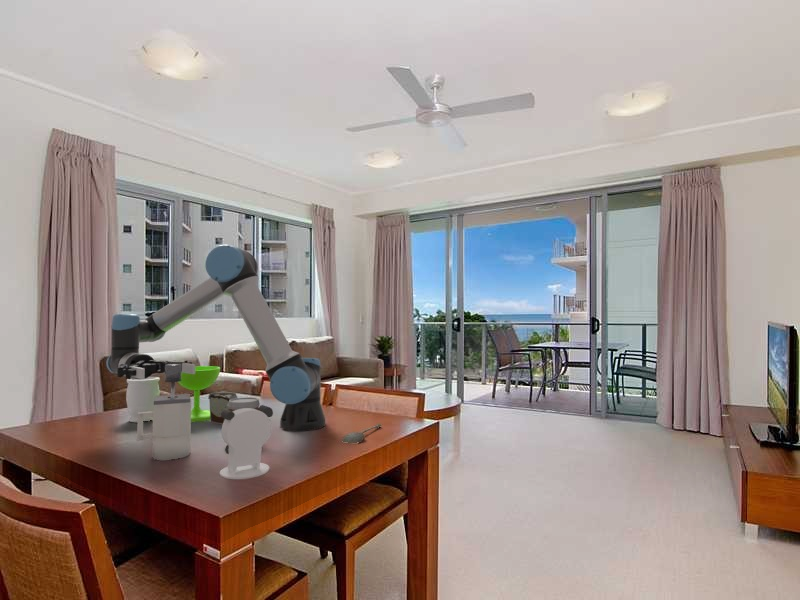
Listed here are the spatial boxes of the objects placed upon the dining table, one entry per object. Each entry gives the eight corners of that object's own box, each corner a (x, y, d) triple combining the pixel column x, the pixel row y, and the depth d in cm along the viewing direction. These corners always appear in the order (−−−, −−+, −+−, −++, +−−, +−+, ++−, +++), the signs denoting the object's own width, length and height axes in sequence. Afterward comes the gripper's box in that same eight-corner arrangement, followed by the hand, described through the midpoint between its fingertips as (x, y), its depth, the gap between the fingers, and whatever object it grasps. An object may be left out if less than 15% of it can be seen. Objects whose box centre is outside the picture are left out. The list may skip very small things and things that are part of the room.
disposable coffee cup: (266, 437, 144) (266, 398, 144) (246, 445, 135) (246, 403, 135) (240, 434, 147) (241, 396, 147) (219, 442, 138) (220, 401, 138)
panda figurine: (259, 460, 121) (260, 402, 121) (280, 471, 112) (280, 408, 113) (212, 470, 113) (213, 408, 113) (230, 482, 104) (231, 415, 105)
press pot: (189, 448, 131) (190, 393, 132) (190, 457, 123) (191, 398, 123) (138, 454, 126) (139, 396, 126) (135, 464, 117) (136, 402, 118)
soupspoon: (337, 446, 138) (356, 450, 135) (337, 435, 138) (357, 438, 135) (371, 427, 158) (388, 430, 155) (371, 417, 158) (389, 420, 155)
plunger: (180, 426, 128) (181, 363, 128) (180, 429, 124) (181, 365, 125) (164, 428, 126) (165, 364, 127) (163, 431, 123) (164, 365, 123)
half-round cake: (245, 422, 164) (245, 393, 164) (230, 425, 159) (230, 396, 159) (222, 418, 170) (223, 390, 171) (207, 421, 165) (208, 393, 166)
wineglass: (164, 417, 171) (165, 368, 172) (206, 411, 183) (207, 365, 184) (185, 424, 161) (186, 372, 161) (227, 416, 173) (228, 368, 174)
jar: (165, 417, 172) (165, 376, 172) (147, 423, 161) (148, 380, 162) (138, 416, 173) (139, 376, 173) (118, 423, 162) (119, 380, 163)
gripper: (178, 374, 150) (212, 380, 136) (89, 382, 130) (118, 390, 117) (179, 351, 150) (213, 354, 136) (90, 356, 131) (119, 360, 117)
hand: (169, 371), depth 127 cm, fingers open, 13 cm apart
